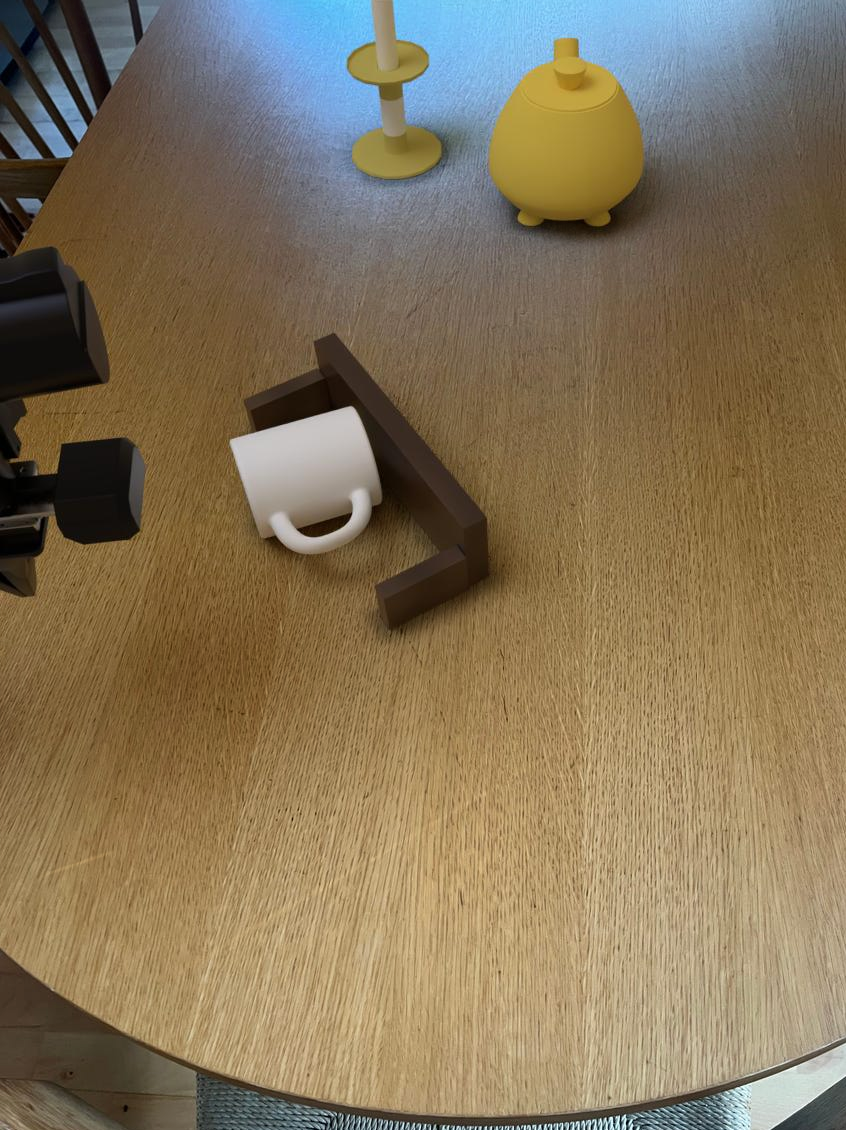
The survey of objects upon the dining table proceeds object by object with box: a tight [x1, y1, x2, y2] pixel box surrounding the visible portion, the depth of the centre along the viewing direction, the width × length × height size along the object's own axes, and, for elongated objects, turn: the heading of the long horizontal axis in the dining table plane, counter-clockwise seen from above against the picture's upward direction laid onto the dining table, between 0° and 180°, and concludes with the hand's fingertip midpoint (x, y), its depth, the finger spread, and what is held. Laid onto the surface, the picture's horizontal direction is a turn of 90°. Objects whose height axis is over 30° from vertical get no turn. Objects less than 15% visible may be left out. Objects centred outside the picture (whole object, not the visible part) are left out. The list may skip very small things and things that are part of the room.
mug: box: [229, 406, 383, 555], centre depth 79 cm, size 12×10×8 cm
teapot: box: [488, 37, 645, 227], centre depth 101 cm, size 20×16×14 cm
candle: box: [346, 0, 443, 180], centre depth 100 cm, size 10×10×27 cm
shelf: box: [242, 332, 490, 631], centre depth 80 cm, size 9×24×7 cm, turn 32°
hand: (30, 591), depth 64 cm, fingers closed
